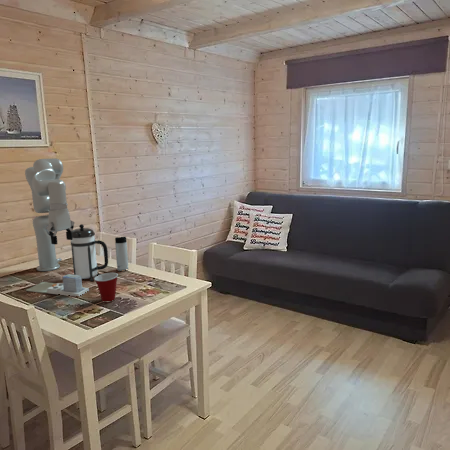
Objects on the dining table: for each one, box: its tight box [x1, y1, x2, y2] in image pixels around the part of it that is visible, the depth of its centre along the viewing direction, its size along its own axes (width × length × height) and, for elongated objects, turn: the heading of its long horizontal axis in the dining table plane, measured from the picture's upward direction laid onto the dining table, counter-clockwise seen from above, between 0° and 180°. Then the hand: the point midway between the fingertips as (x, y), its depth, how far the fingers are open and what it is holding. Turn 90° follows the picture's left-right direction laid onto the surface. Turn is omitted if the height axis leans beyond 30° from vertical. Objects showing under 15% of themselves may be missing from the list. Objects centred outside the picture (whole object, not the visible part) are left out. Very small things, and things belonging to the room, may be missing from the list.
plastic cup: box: [93, 272, 119, 302], centre depth 186 cm, size 11×11×12 cm
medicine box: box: [62, 273, 83, 293], centre depth 196 cm, size 8×4×9 cm, turn 71°
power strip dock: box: [46, 282, 90, 297], centre depth 197 cm, size 8×18×3 cm, turn 73°
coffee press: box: [70, 223, 109, 282], centre depth 215 cm, size 17×16×30 cm
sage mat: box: [25, 281, 58, 294], centre depth 204 cm, size 12×12×1 cm
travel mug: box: [114, 236, 129, 272], centre depth 229 cm, size 6×7×20 cm
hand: (62, 241), depth 193 cm, fingers open, 9 cm apart
